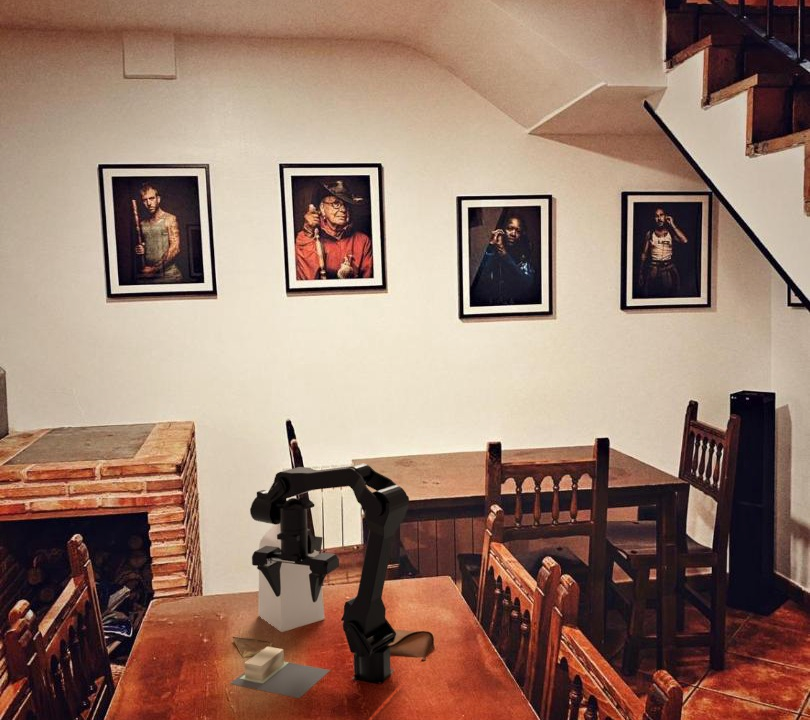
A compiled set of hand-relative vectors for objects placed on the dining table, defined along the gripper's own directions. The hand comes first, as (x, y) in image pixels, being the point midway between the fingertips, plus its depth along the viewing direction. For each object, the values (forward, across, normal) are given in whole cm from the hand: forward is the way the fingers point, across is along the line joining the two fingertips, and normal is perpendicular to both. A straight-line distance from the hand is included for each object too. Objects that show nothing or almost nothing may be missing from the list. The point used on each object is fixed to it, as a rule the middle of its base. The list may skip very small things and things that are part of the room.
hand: (296, 598), depth 164 cm
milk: (+12, +12, -16) cm, 23 cm away
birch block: (+11, +1, +10) cm, 15 cm away
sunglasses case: (+13, -18, -9) cm, 24 cm away
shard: (+13, +11, +3) cm, 17 cm away
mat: (+12, -3, +12) cm, 17 cm away
